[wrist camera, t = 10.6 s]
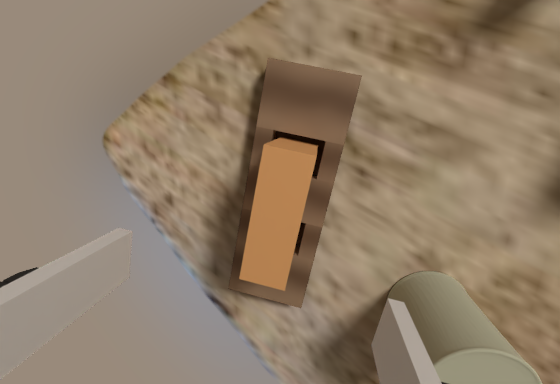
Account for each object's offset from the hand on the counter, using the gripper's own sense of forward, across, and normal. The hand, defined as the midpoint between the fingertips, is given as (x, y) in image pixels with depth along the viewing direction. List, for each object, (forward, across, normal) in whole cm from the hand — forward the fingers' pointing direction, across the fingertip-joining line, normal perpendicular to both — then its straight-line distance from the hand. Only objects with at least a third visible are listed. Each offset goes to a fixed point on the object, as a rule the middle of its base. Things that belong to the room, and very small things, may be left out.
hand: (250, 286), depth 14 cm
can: (+19, -19, +10) cm, 29 cm away
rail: (+19, 0, 0) cm, 19 cm away
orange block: (+19, 0, 0) cm, 19 cm away
